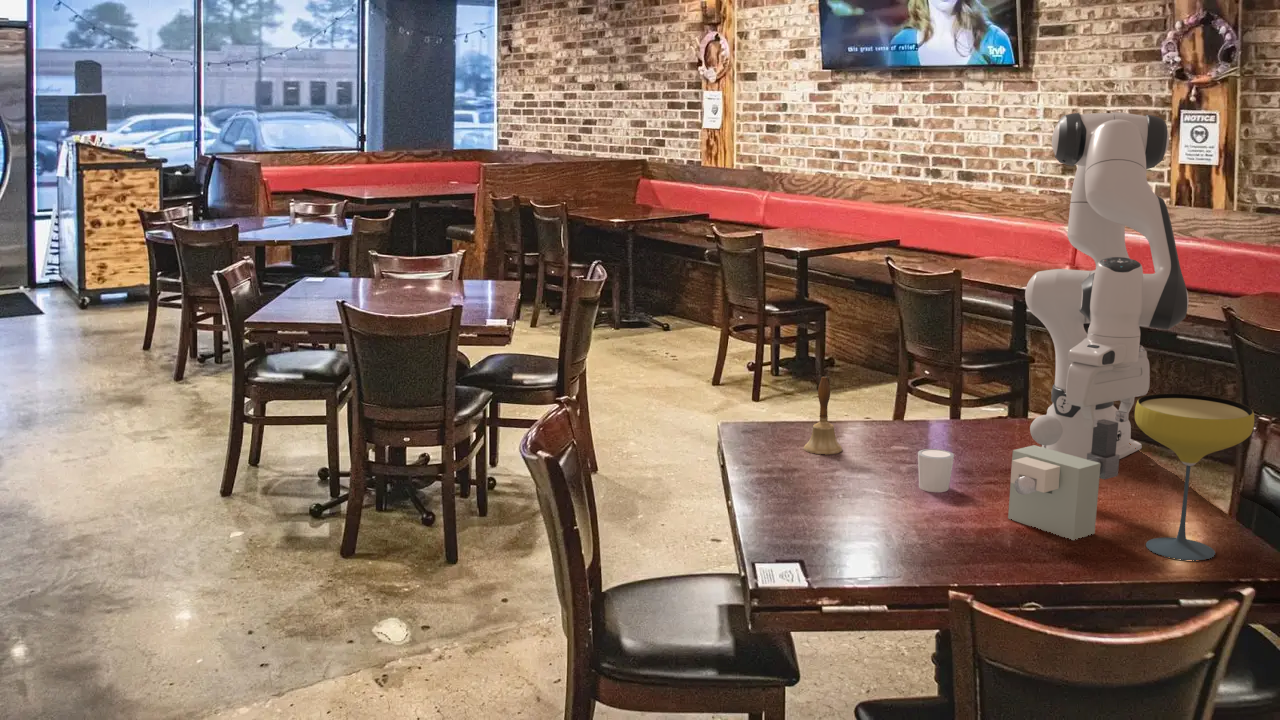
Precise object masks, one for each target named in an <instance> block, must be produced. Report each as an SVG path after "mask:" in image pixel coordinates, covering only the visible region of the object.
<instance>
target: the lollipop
mask: <svg viewBox="0 0 1280 720" xmlns="http://www.w3.org/2000/svg"><path fill="white" fill-rule="evenodd" d="M1029 431H1030V436H1031V437H1032V439H1033V441H1035V442H1036V443H1037V444H1039V445H1041V446H1042V445H1044V448H1046V445H1052V444H1054V443H1056V442H1057V441H1058V440H1059V439H1060V438H1061V436H1062V433H1063V428H1062V425H1061V423H1060V422H1059V420H1058V419H1057V418H1055V417H1053V416H1051V415H1047V414H1043V415H1039V416H1037V417H1035V419H1033V421H1032V422H1031V424H1030V426H1029Z"/></svg>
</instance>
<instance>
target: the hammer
mask: <svg viewBox="0 0 1280 720" xmlns="http://www.w3.org/2000/svg"><path fill="white" fill-rule="evenodd" d="M1117 432H1118V422H1114V421H1110V420H1105V419H1102V420H1098V421H1097V427H1096V428H1093V438H1092V450H1091V452H1090V453H1087V460H1091V461H1094V462H1098V463H1101V464H1100V476H1099V479H1102V480H1107V479H1110V478H1114V477H1119V469H1120V468H1119V465H1120V459H1119V456H1120V455H1119V454H1116V444H1117ZM1036 485H1037V479H1035V478H1031V477H1028V476H1024V477H1020V478H1017V479H1016V481H1015V484H1014V486H1015V489H1016V491H1017V492H1018V493H1019V494H1021V495H1025V494H1029V493H1032V492H1036V491H1037V490H1036Z"/></svg>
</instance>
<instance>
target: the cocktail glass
mask: <svg viewBox="0 0 1280 720" xmlns="http://www.w3.org/2000/svg"><path fill="white" fill-rule="evenodd" d="M1134 422H1135V423H1136V426H1137V427H1138V428H1139V430H1140V431H1142V432H1143V433H1144V434H1145V435H1146V436H1148V437H1149V438H1151V439H1152V440H1154V441H1156V442H1157V443H1160V445H1162V446H1164V447H1166V448H1168V449H1170V450H1171V451H1172V452H1173V453H1175V454H1176V456H1177V457H1178V459H1179V461H1180V462H1181V463H1182V464H1183V465H1185V466H1186V467H1185V479H1184V487H1183V488H1184V489H1183V497H1182V506H1181V516H1180V523H1179V527H1178V532H1177V535H1176V537H1173V536H1172V537H1170V536H1166V537H1164V536H1163V537H1155V538H1154V537H1153V538H1152V539H1149V540H1147V542H1145V546H1146V549H1147V550H1148V549H1149V551H1150V552H1151V551H1152V552H1151V553H1153V554H1155V553H1156V554H1155V555H1157V554H1158V555H1157V556H1160V555H1162V556H1165V557H1164V558H1166V557H1170V558H1175V559H1181V560H1192V561H1191V562H1197V561H1196V560H1205V559H1209V560H1211V559H1213V558H1214V557H1215V556H1216V551H1215V550H1214V549H1213V548H1212V547H1210V546H1209V545H1207V544H1205V543H1202V542H1200V541H1197V540H1192V539H1187V537H1186V521H1187V519H1186V518H1187V507H1188V496H1189V484H1190V475H1191V467H1193V466H1195V465H1197V463H1198V462H1200V461H1201V459H1203V458H1204V457H1206V456H1208V455H1210V454H1212V453H1217V452H1219V451H1222V450H1227V449H1229V448H1232V447H1234V446H1237V445H1239V444H1240V443H1242V442H1244V441H1245V440H1247V439H1248V438H1249V437H1250V436H1251V435H1252V433H1253V431H1254V427H1255V413H1254V410H1253V409H1252V408H1251V407H1250V406H1247V405H1246V404H1242V403H1240V402H1237V401H1234V400H1229V399H1225V398H1221V397H1215V396H1210V395H1209V396H1208V395H1201V394H1189V393H1188V394H1187V393H1156V394H1149V395H1143V396H1140V398H1138V399H1137V401H1136V404H1135V408H1134ZM1214 555H1215V556H1214ZM1162 556H1161V557H1162ZM1212 557H1213V558H1212ZM1170 558H1169V559H1170ZM1210 558H1211V559H1210ZM1175 559H1174V560H1175ZM1181 560H1180V561H1181ZM1193 560H1194V561H1193ZM1205 561H1206V560H1205Z"/></svg>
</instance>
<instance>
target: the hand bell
mask: <svg viewBox="0 0 1280 720" xmlns="http://www.w3.org/2000/svg"><path fill="white" fill-rule="evenodd" d="M817 396H818V397H817V398H818V401H819V421H818V422H817V423H814V424H813V426H812V430H811V431H812V432H811V436H810V438H809V440H808V441H807V443H805V445H804V446H803V451H805V452H806V451H807V453H809V452H810V453H809V454H813V453H815V454H814V455H821V454H825V455H826V456H827V455H836V454H839V453H841V452H843V446H841V444H839V442H838V440H837V438H836V433H835V426H834V424H832V423H830V422H829V419H828V416H829V415H828V405H829V402H830V398H831V386H830V381H829V379H828V376H821V378H820V381H819V384H818V388H817ZM825 455H824V456H825Z"/></svg>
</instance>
